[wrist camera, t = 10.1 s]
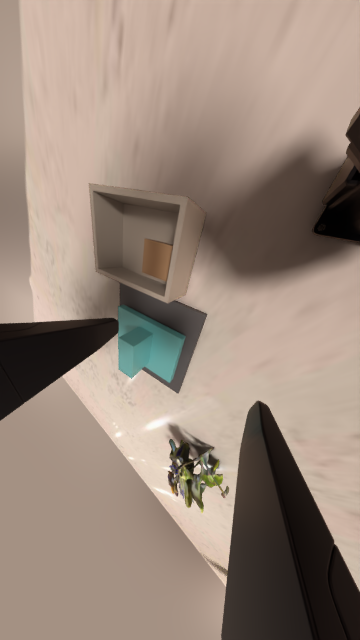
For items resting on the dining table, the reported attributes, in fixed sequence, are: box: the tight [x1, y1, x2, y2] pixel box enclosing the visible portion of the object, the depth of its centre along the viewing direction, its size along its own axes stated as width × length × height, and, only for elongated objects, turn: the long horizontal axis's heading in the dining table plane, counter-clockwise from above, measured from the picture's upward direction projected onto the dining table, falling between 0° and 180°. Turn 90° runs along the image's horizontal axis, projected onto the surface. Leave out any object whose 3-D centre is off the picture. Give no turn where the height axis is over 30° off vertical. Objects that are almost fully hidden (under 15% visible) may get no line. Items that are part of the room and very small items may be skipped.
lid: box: [118, 305, 186, 383], centre depth 24 cm, size 13×10×6 cm
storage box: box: [89, 183, 206, 303], centre depth 18 cm, size 13×10×5 cm
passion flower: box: [168, 439, 229, 513], centre depth 30 cm, size 11×11×12 cm
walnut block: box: [142, 239, 173, 282], centre depth 18 cm, size 4×4×3 cm
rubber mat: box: [120, 283, 207, 393], centre depth 27 cm, size 17×19×1 cm
